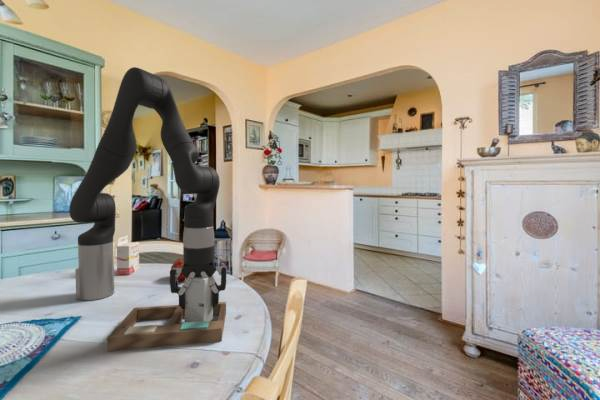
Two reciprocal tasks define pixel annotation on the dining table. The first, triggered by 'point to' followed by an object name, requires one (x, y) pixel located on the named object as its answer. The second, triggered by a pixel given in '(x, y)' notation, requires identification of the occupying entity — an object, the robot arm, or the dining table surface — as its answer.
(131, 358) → the dining table surface
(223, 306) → the socket block
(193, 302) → the skincare box
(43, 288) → the dining table surface
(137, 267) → the ink cartridge box
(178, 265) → the dragon fruit
